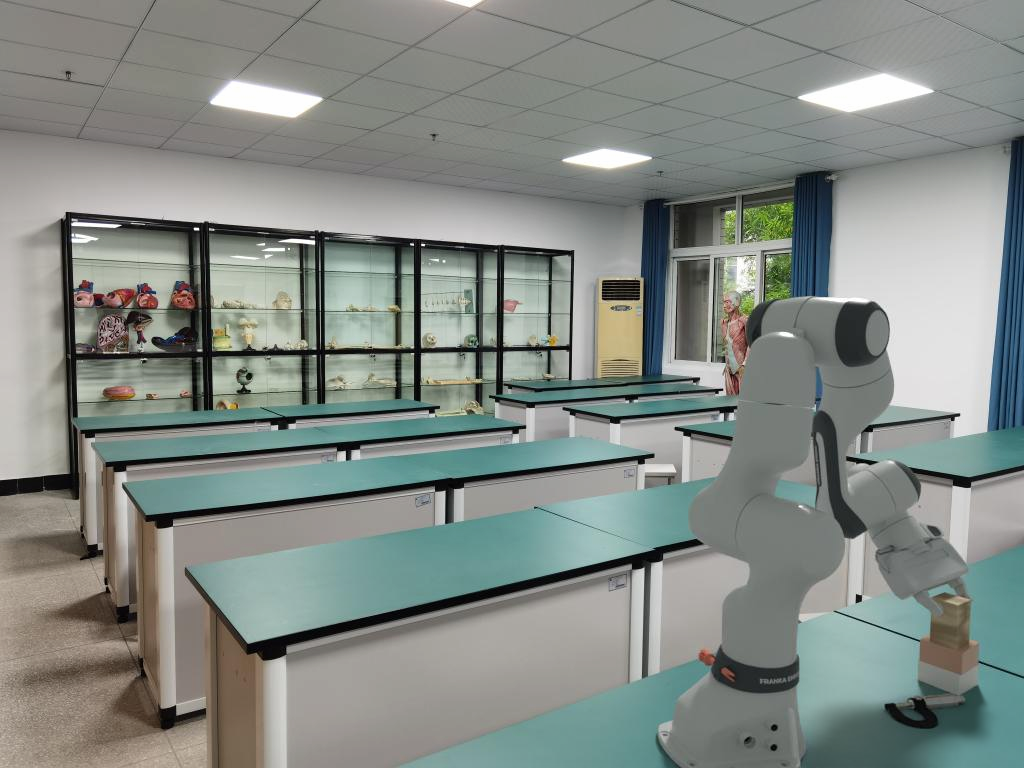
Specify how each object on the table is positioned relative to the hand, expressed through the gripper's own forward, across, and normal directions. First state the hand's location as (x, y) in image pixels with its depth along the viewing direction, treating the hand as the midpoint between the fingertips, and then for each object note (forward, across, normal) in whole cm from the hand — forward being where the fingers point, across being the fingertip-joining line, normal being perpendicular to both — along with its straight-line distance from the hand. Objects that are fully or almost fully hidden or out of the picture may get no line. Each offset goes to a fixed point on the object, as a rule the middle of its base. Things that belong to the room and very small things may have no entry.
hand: (955, 609), depth 128 cm
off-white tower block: (+9, 0, +11) cm, 14 cm away
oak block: (+4, 0, +5) cm, 6 cm away
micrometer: (+13, -13, +8) cm, 20 cm away
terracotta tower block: (+7, 0, +8) cm, 10 cm away
